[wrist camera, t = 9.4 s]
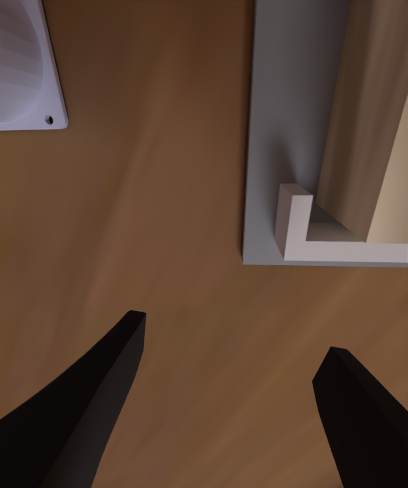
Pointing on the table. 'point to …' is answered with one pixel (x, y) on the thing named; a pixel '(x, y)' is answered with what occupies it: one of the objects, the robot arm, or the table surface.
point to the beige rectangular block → (370, 126)
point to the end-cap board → (297, 140)
